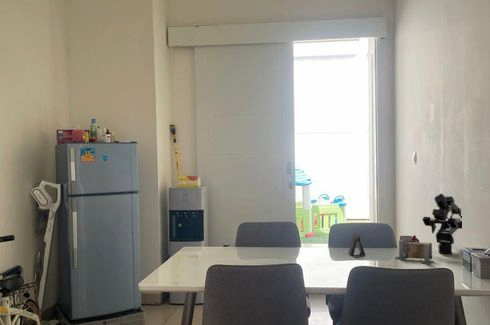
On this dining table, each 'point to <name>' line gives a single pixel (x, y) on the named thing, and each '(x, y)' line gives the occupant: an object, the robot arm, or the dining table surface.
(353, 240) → the phone stand
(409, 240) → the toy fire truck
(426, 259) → the gate posts
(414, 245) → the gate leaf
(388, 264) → the dining table surface
